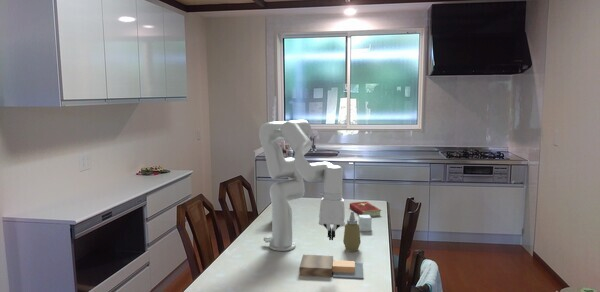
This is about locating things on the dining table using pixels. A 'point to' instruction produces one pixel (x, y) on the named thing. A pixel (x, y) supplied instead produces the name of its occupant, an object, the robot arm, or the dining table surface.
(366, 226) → the skincare box
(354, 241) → the squeeze bottle
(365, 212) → the hardcover book
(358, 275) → the mat
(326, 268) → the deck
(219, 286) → the dining table surface
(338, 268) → the tile
